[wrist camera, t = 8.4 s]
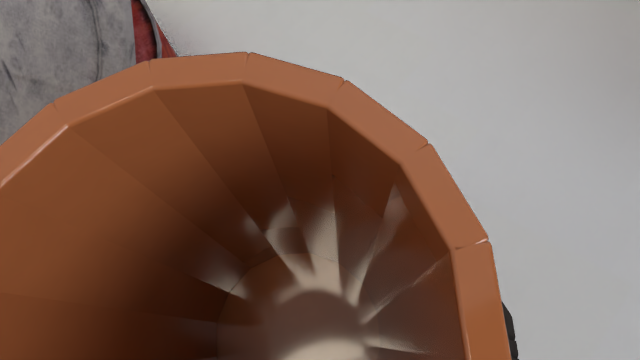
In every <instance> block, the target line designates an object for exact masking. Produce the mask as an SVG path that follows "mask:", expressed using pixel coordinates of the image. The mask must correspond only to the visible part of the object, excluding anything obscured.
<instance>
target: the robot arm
mask: <svg viewBox="0 0 640 360" xmlns="http://www.w3.org/2000/svg"><path fill="white" fill-rule="evenodd" d="M501 302H502V301H501ZM502 307H503V313H504V319H505V325H506V330H507V336H508V342H509V347H510V353H511V359H512V360H519V359H518V350H517V344H516V341H515V332H514V326H513V320H512V316H511V314H510V313H509V311H508V310H507V308H506V307H505V305H504V304H503V302H502Z"/></svg>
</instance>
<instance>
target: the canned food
mask: <svg viewBox="0 0 640 360" xmlns="http://www.w3.org/2000/svg"><path fill="white" fill-rule="evenodd" d="M170 57H178V56H177V54H176V52H175V51H174V49H173V48H172V47H171V46H170V44H169V42H168V41H167V39H166V37H165V36H164V34H163V32H162V31H161V29H160V27H159V25H158V24H157V22H156V20H155V18H154V16H153V14H152V13H151V11H150V9H149V7H148V5H147V3H146V1H145V0H0V145H1V144H2V143H4V142H5V141H6V140H7V139H8V138H9V137H10V136H12V135H13V134H14V133H15V132H16V131H17V130H18V129H20V128H21V127H22V126H23V125H24V124H25V123H26V122H28V121H29V120H30V119H31V118H32V117H33V116H35V115H36V114H37V113H38V112H39V111H40V110H41V109H43V108H44V107H45V106H46V105H47V104H49V103H53V101H54V100H55V99H57V98H59V97H61V96H63V95H66V94H68V93H70V92H73V91H75V90H77V89H80V88H82V87H84V86H87V85H89V84H91V83H94V82H96V81H98V80H101V79H103V78H105V77H108V76H110V75H112V74H115V73H117V72H119V71H122V70H124V69H126V68H129V67H131V66H133V65H136V64H138V63H140V62H143V61H148V62H149V61H150V60H151V59H157V58H170Z"/></svg>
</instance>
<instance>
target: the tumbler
mask: <svg viewBox="0 0 640 360" xmlns="http://www.w3.org/2000/svg"><path fill="white" fill-rule="evenodd" d="M488 240H489V239H488V235H487V233H486V232H485V230H484V228H483V227H482V225H481V224H480V222H479V220H478V219H477V217H476V215H475V214H474V212H473V211H472V209H471V207H470V206H469V204H468V202H467V201H466V199H465V198H464V196H463V194H462V193H461V191H460V189H459V188H458V186H457V185H456V183H455V181H454V180H453V178H452V176H451V175H450V173H449V172H448V170H447V168H446V167H445V165H444V163H443V162H442V160H441V159H440V157H439V155H438V154H437V152H436V150H435V149H434V147H433V146H432V145H431V144H428V141H427V139H426V138H424V137H423V136H422V135H420V134H419V133H418V132H416V131H415V130H414V129H412V128H411V127H410V126H408V125H407V124H406V123H404V122H403V121H402V120H400V119H399V118H398V117H396V116H395V115H394V114H392V113H391V112H390V111H388V110H387V109H386V108H384V107H383V106H382V105H380V104H379V103H377V102H376V101H375V100H373V99H372V98H371V97H369V96H368V95H367V94H365V93H364V92H363V91H361V90H360V89H359V88H357V87H356V86H355V85H353V84H352V83H351V82H349V81H347V80H346V81H344V79H343V78H342V77H338V76H335V75H331V74H328V73H324V72H320V71H317V70H313V69H310V68H306V67H303V66H299V65H295V64H292V63H288V62H285V61H281V60H278V59H274V58H270V57H267V56H263V55H260V54H256V53H249V54H248V53H247V52H234V53H221V54H209V55H196V56H183V57H170V58H157V59H151V60H150V61H149V62H148V61H143V62H140V63H138V64H136V65H133V66H131V67H129V68H126V69H124V70H122V71H119V72H117V73H115V74H112V75H110V76H108V77H105V78H103V79H101V80H98V81H96V82H94V83H91V84H89V85H87V86H84V87H82V88H80V89H77V90H75V91H73V92H70V93H68V94H66V95H63V96H61V97H59V98H57V99H55V100H54V101H53V103H49V104H47V105H46V106H45V107H44V108H43V109H41V110H40V111H39V112H38V113H37V114H36V115H35V116H33V117H32V118H31V119H30V120H29V121H28V122H26V123H25V124H24V125H23V126H22V127H21V128H20V129H18V130H17V131H16V132H15V133H14V134H13V135H12V136H10V137H9V138H8V139H7V140H6V141H5V142H4V143H2V144H1V145H0V360H512V359H511V353H510V347H509V342H508V336H507V330H506V325H505V319H504V313H503V307H502V302H501V296H500V290H499V285H498V279H497V273H496V267H495V262H494V256H493V250H492V245H491V243H490V242H488Z"/></svg>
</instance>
